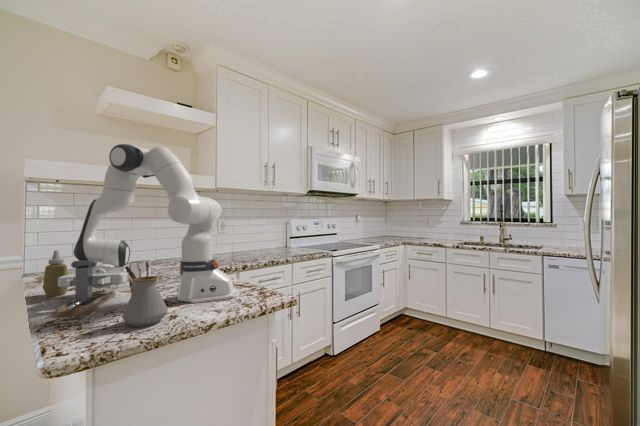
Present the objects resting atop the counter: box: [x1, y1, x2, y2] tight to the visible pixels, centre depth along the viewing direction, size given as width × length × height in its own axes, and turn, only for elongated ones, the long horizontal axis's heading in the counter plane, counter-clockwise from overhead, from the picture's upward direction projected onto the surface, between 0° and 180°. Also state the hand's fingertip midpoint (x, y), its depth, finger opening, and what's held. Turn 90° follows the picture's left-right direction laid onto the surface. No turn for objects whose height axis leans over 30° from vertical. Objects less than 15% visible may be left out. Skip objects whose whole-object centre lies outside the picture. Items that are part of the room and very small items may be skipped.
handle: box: [68, 260, 98, 310], centre depth 99 cm, size 7×12×14 cm, turn 16°
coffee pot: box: [121, 265, 168, 328], centre depth 90 cm, size 21×12×15 cm, turn 51°
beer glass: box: [127, 259, 152, 296], centre depth 107 cm, size 7×7×15 cm
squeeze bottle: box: [42, 250, 69, 297], centre depth 121 cm, size 8×8×18 cm
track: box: [52, 289, 117, 318], centre depth 105 cm, size 9×24×2 cm, turn 16°
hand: (83, 283), depth 102 cm, fingers open, 8 cm apart
